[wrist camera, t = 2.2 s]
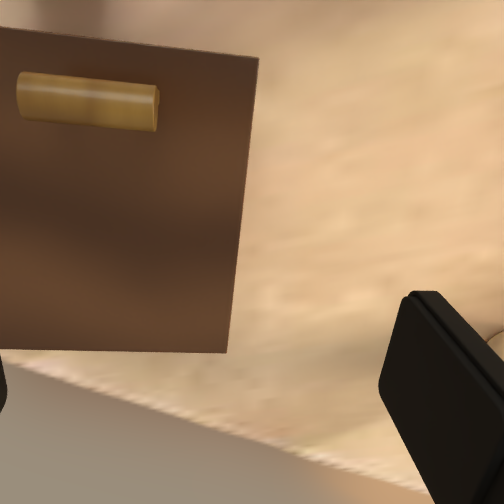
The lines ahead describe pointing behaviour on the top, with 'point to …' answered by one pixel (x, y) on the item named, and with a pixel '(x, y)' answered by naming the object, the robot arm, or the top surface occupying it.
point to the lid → (120, 192)
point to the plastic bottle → (497, 344)
